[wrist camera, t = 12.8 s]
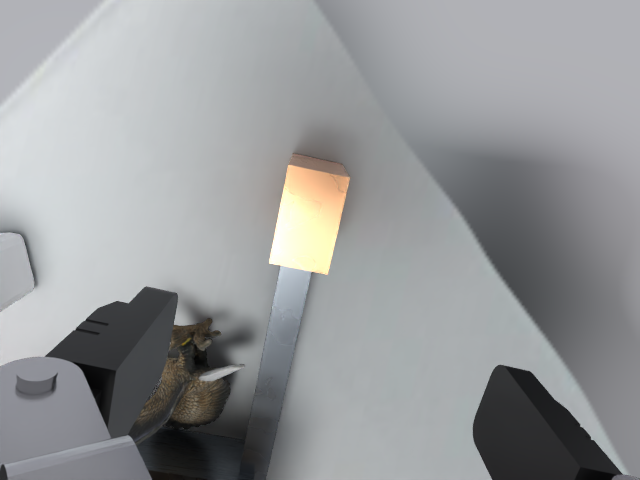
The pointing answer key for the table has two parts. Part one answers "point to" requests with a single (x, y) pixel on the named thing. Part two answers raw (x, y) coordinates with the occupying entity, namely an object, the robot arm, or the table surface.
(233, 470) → the rake
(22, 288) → the salt shaker
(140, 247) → the table surface
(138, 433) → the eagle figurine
